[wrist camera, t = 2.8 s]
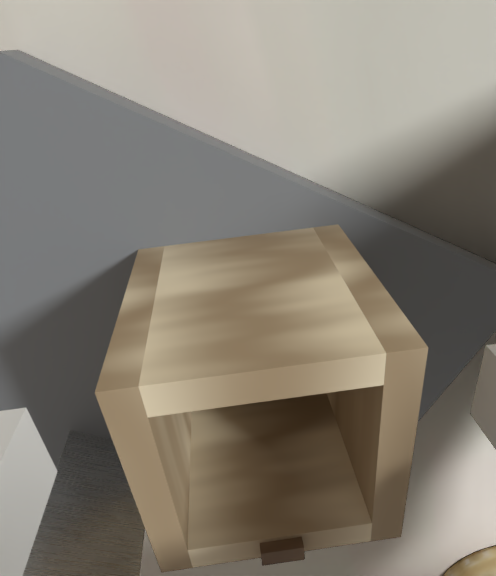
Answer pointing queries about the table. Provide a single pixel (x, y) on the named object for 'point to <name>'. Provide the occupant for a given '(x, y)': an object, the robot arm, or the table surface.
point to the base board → (168, 238)
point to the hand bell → (475, 564)
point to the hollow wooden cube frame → (262, 398)
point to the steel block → (88, 516)
